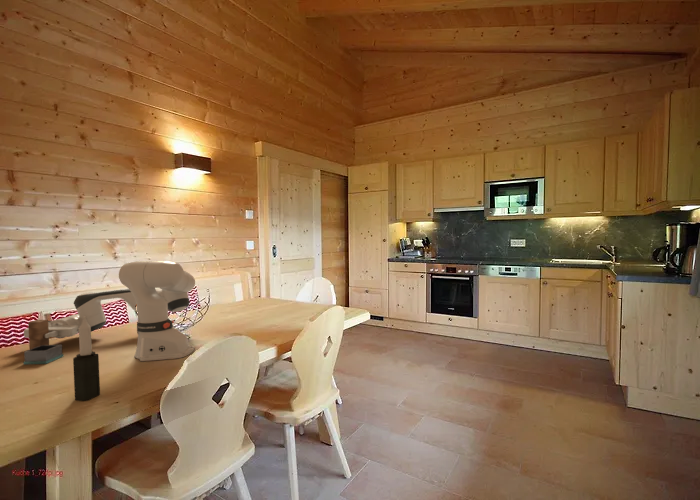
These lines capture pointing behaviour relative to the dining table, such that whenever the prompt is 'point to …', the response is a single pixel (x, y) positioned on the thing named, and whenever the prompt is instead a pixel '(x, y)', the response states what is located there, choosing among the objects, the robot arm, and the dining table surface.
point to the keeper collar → (43, 354)
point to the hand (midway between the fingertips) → (37, 336)
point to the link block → (38, 333)
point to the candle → (86, 367)
